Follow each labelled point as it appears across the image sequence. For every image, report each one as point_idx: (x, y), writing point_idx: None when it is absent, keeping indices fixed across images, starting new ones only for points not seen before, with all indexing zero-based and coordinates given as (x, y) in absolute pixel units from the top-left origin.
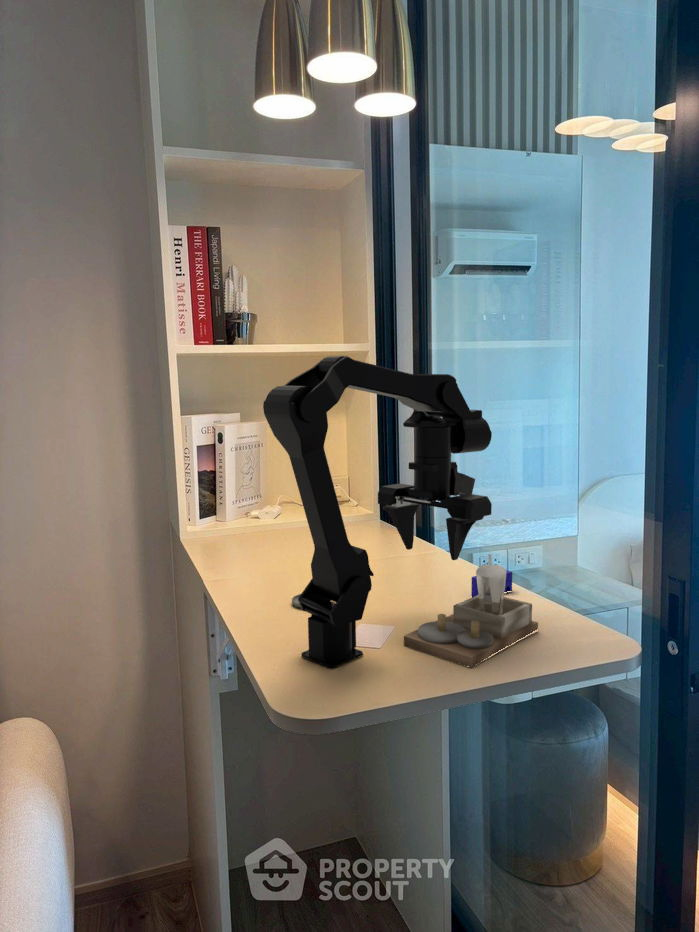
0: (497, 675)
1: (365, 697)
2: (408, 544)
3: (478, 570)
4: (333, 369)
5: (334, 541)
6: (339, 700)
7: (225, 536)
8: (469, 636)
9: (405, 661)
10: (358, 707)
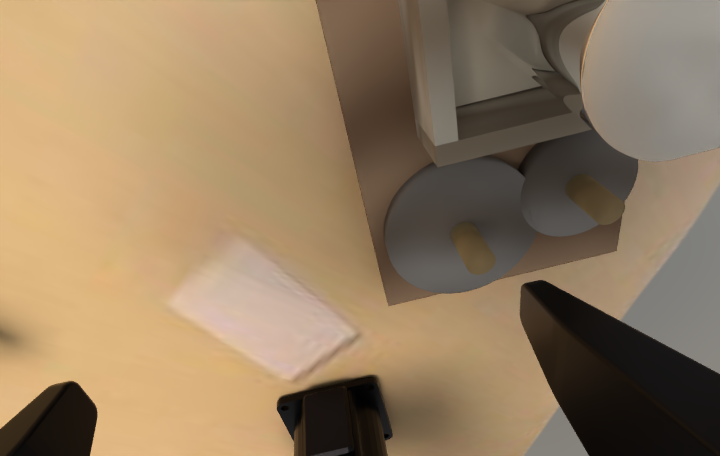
0: (670, 209)
1: (513, 422)
2: (81, 449)
3: (647, 155)
4: None
5: None
6: (490, 448)
7: None
8: (564, 200)
9: (457, 323)
10: (527, 437)
